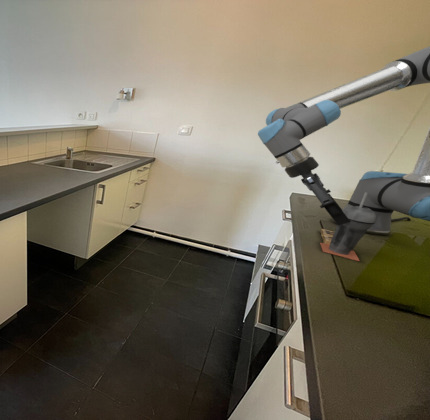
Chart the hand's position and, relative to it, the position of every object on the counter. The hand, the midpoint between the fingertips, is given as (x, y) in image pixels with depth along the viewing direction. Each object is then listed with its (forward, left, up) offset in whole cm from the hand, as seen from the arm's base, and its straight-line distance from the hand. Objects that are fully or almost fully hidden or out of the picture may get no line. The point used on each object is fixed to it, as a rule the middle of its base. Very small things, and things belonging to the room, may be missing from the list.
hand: (340, 217), depth 78 cm
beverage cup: (-2, +3, -11) cm, 12 cm away
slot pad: (-2, +3, -11) cm, 12 cm away
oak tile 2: (-8, 0, -11) cm, 14 cm away
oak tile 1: (-14, -4, -11) cm, 18 cm away
